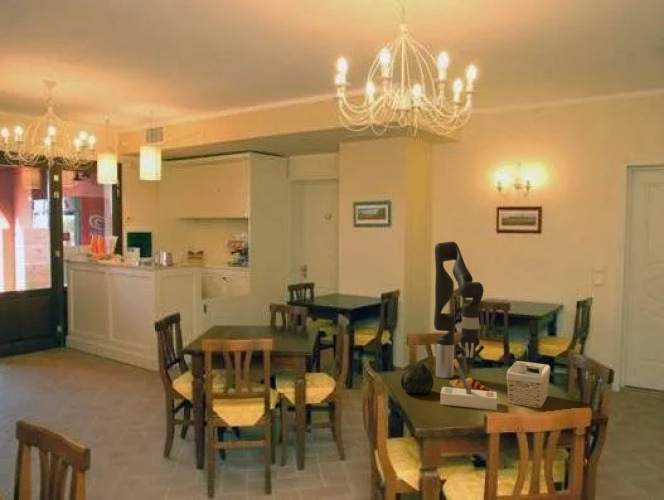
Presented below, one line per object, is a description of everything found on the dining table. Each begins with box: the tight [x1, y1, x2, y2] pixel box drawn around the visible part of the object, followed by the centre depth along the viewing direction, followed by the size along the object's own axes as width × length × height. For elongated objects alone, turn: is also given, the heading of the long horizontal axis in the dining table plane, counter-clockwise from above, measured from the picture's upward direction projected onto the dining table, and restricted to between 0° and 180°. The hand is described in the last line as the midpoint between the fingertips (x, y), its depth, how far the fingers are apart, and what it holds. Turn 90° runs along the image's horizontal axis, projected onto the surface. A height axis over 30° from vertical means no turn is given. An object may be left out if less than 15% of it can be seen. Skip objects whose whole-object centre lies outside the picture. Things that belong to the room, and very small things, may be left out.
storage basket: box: [506, 360, 551, 409], centre depth 251 cm, size 24×16×15 cm
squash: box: [400, 363, 434, 395], centre depth 259 cm, size 14×15×15 cm
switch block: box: [439, 386, 498, 411], centre depth 249 cm, size 20×24×7 cm
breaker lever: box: [453, 358, 470, 389], centre depth 244 cm, size 3×2×14 cm, turn 163°
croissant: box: [449, 377, 490, 391], centre depth 263 cm, size 21×10×8 cm, turn 46°
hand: (469, 365), depth 243 cm, fingers closed
